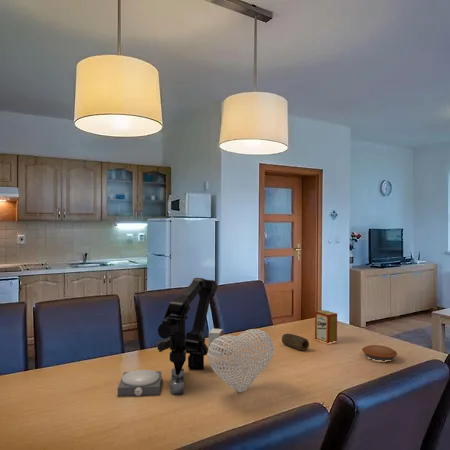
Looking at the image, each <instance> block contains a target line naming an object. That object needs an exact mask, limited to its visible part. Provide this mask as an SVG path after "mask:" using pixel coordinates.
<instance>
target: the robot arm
mask: <svg viewBox="0 0 450 450" xmlns="http://www.w3.org/2000/svg"><path fill="white" fill-rule="evenodd" d="M217 289H218V283H217V282H216V280H213V279H205V278H203V277H194V278H193V279H192V281H191V283H190V284H189V285H188V286H187V288H186V289H185V290H184V291H183V292H182V293H181V295H179V296H177V297H175V298H173V299H172V300H171V301H170V302H169V304H168V306H167V308H166V311H165V314H164V317H163V320H162V322H161V324H160V325H159V326H158V328H157V334H158V336H159V337H160V338H161V339H160V340H158V341H157V342H156V346H157V350H158V352H159V353H162V352H163V351H165V350H170V352H169V361H170V362H171V363H173V365H174V366H173V368H175V371H176V375H179V374H180V372H181V369H182V368H183V367H184V365H185V362H186V360H187V368H188V370H189V371H192V370H194V371H195V370H199V371H202V370H205V356H208V348H209V346H207V344H206V343H205V342H206V338H205V337H206V336H205V335H204V329H205V325H206V320H207V315H208V311H209V307H210V302H211V300H212V298H214V296H216V295H215V294H216V292H217ZM197 295H198V303H197V308H196V311H195V316H194V320H193V324H192V325H193V326H192V329H191V330H190V331H187V332H186V320H188V319H189V317H188V316H187V314H188V313H189V310H190V309H191V303H192V302H193V300H194V299H195V298H196V297H197ZM187 354H189V355H188V356H187Z"/></svg>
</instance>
